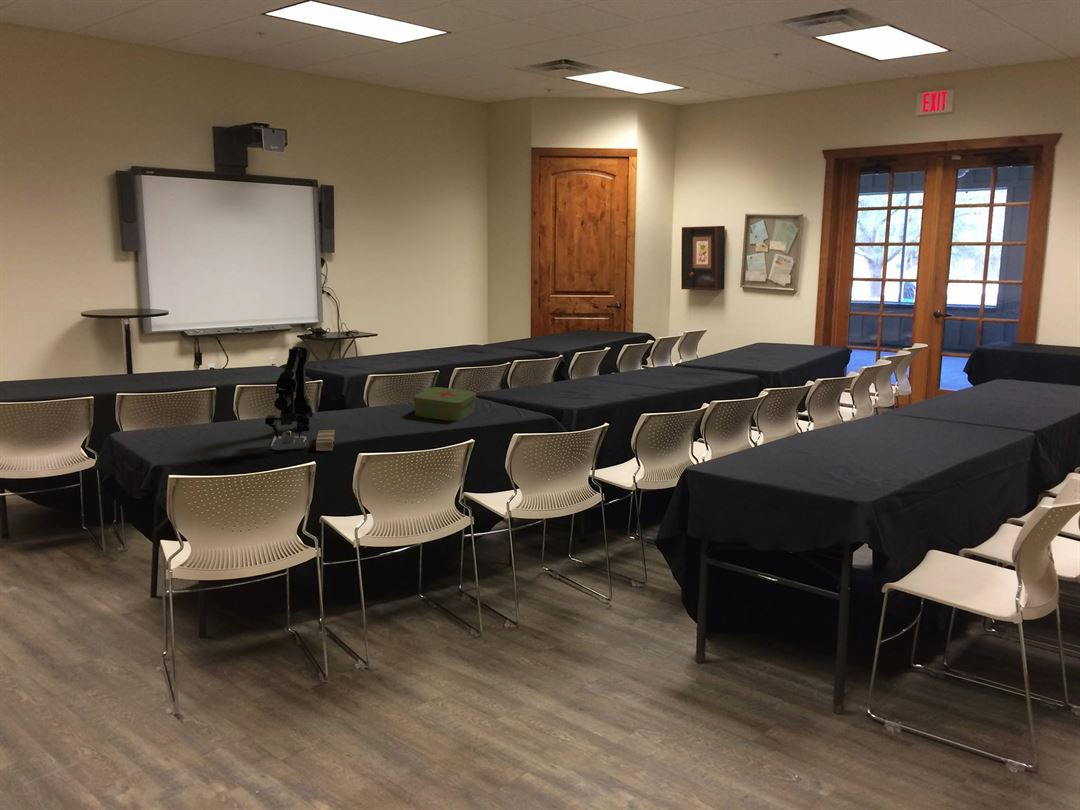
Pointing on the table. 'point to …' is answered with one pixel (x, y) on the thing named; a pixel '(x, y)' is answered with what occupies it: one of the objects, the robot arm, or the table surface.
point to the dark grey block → (288, 437)
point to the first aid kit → (444, 403)
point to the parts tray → (281, 438)
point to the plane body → (325, 440)
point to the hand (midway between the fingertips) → (288, 438)
